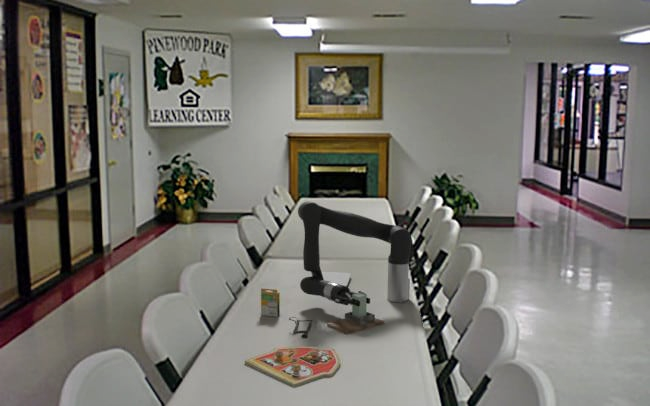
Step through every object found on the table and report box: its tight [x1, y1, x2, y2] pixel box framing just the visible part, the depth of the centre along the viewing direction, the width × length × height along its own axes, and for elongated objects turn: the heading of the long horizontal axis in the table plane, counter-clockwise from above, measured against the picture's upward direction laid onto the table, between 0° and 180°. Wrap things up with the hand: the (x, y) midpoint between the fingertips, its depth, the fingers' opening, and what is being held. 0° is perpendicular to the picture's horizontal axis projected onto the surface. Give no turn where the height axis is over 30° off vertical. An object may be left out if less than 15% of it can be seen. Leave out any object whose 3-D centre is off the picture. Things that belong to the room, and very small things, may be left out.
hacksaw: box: [288, 316, 313, 339], centre depth 262 cm, size 24×10×2 cm, turn 174°
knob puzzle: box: [244, 345, 341, 388], centre depth 226 cm, size 29×30×4 cm
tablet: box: [321, 271, 352, 287], centre depth 327 cm, size 16×26×2 cm, turn 172°
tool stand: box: [326, 311, 385, 335], centre depth 265 cm, size 20×12×4 cm, turn 129°
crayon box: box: [260, 287, 281, 318], centre depth 276 cm, size 7×3×12 cm, turn 74°
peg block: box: [351, 292, 367, 318], centre depth 266 cm, size 4×4×11 cm
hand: (364, 302), depth 263 cm, fingers open, 4 cm apart
